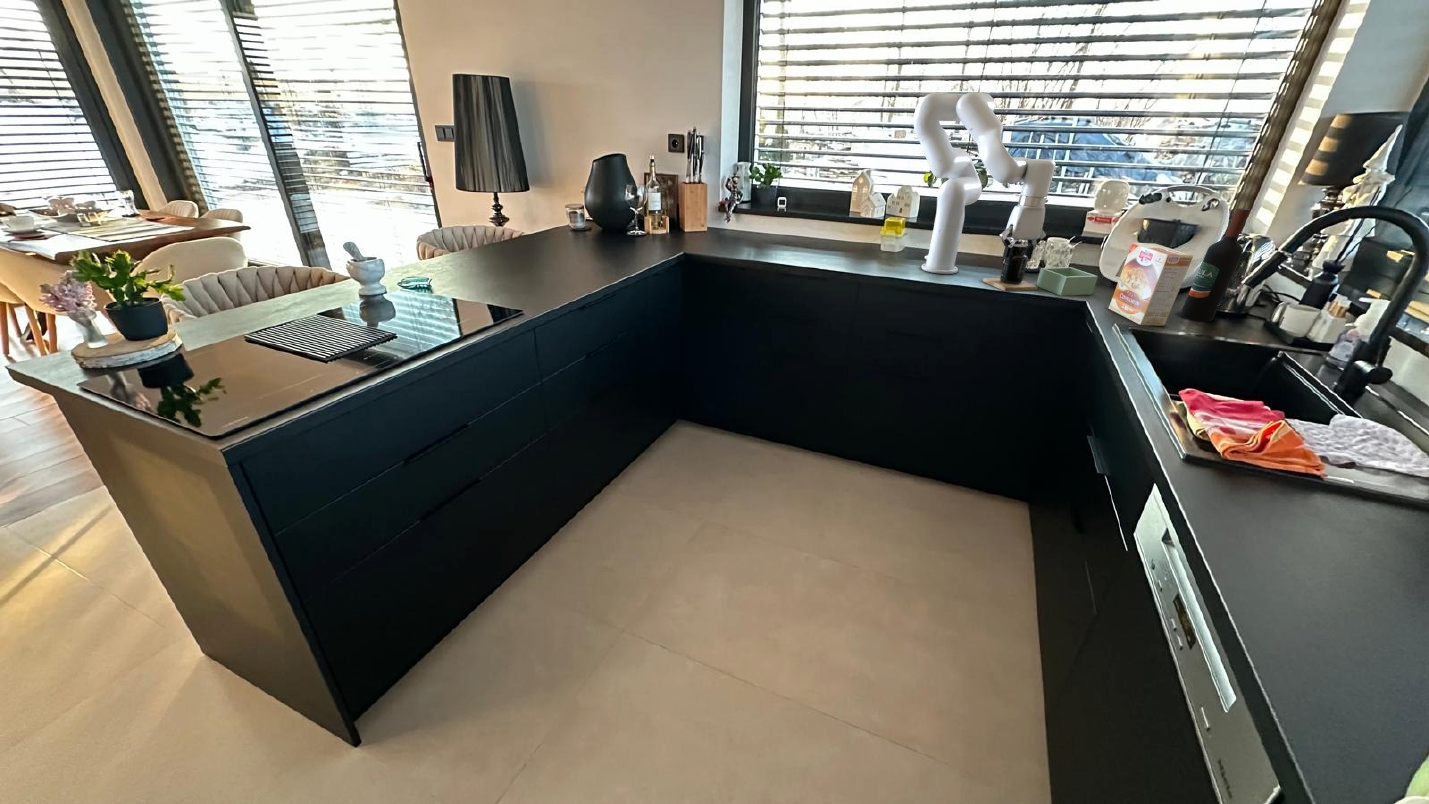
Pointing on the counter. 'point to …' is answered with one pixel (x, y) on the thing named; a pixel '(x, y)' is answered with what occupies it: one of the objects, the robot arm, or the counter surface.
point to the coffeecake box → (1149, 283)
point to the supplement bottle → (1015, 265)
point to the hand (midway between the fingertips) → (1016, 258)
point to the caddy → (1066, 281)
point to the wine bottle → (1215, 272)
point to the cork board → (1009, 285)
